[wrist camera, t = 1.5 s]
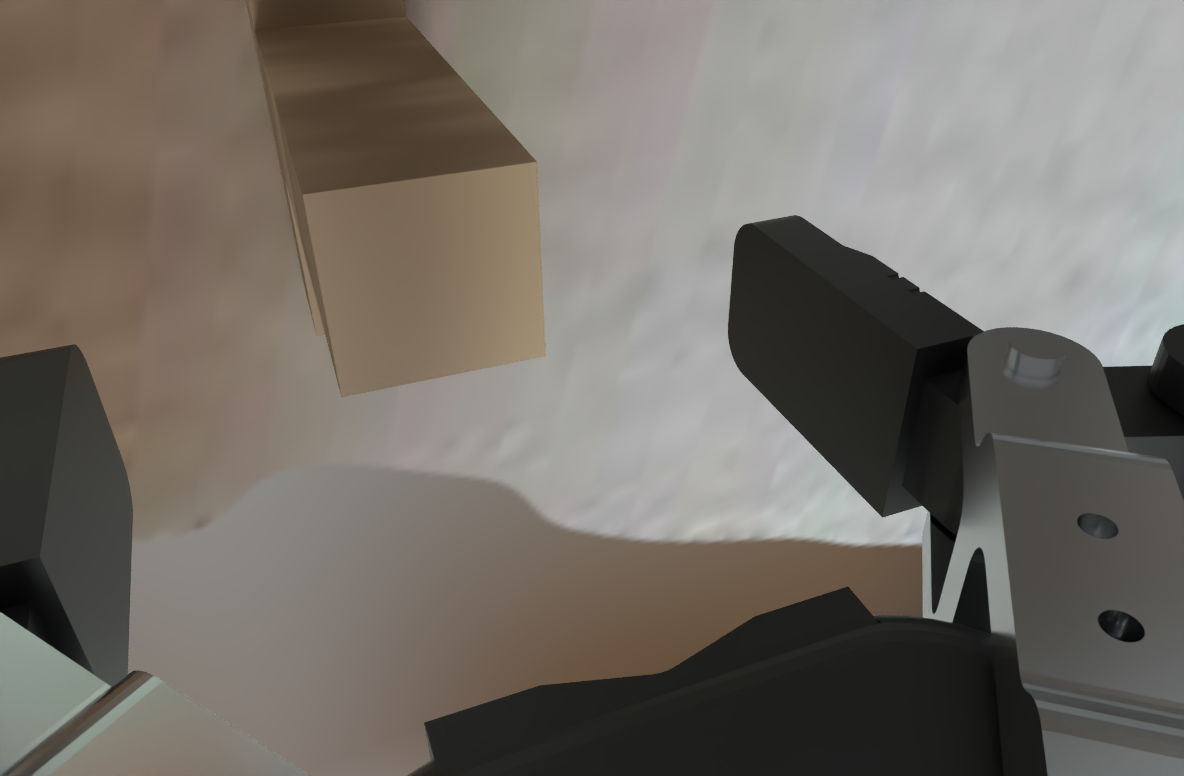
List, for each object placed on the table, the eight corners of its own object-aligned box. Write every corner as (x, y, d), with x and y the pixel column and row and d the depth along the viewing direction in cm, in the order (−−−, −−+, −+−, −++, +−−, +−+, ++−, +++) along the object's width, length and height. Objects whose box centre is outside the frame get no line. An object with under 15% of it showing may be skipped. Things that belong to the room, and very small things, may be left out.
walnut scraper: (355, -217, 19) (520, -197, 10) (415, 263, 26) (554, 552, 16) (201, -214, 19) (228, -190, 9) (302, 281, 25) (380, 598, 15)
